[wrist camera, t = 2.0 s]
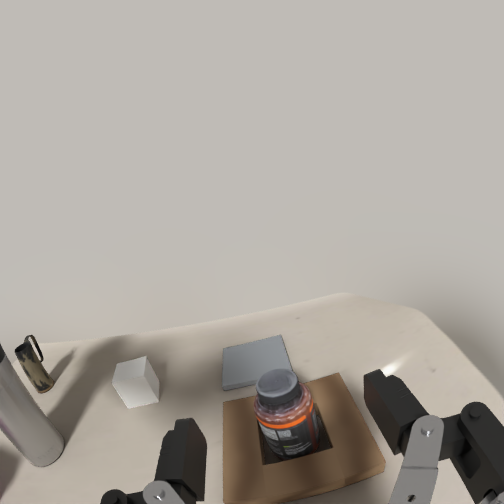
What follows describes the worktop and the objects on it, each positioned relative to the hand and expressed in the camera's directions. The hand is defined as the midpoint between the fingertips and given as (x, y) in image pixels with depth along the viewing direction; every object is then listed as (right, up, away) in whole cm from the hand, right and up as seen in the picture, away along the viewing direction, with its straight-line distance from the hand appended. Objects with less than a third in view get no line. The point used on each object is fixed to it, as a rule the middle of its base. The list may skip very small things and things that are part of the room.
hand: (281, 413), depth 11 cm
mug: (-49, -24, +35) cm, 65 cm away
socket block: (+4, -15, +16) cm, 22 cm away
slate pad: (-1, -12, +34) cm, 36 cm away
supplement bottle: (+4, -15, +16) cm, 22 cm away
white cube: (-20, -18, +30) cm, 40 cm away
